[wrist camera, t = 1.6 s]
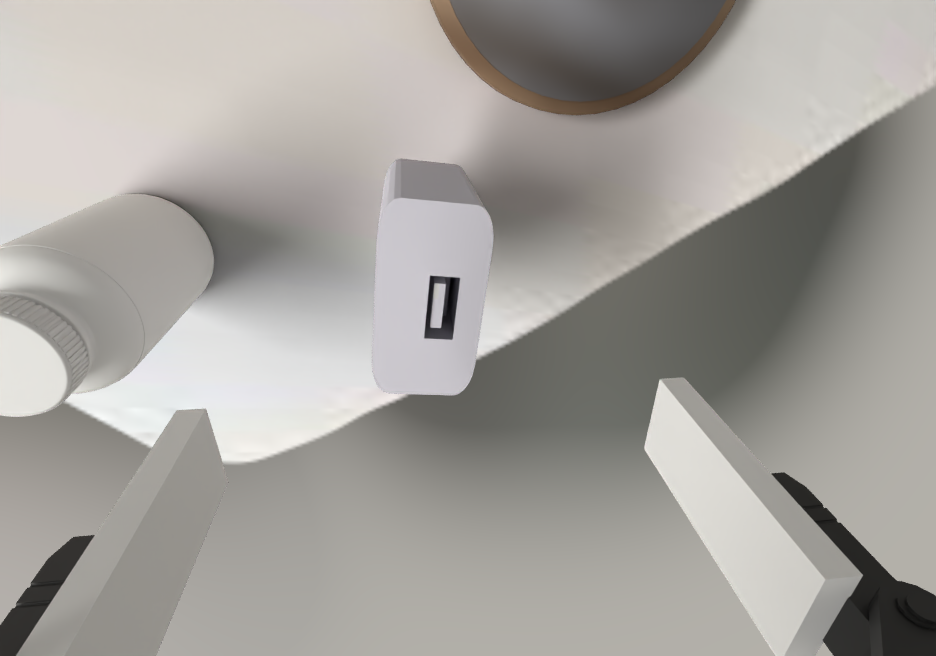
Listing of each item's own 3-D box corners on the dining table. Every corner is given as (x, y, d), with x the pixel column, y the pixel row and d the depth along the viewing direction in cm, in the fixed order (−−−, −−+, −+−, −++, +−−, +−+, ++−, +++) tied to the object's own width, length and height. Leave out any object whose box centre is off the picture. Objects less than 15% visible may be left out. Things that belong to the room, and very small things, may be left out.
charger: (459, 148, 33) (499, 207, 19) (445, 277, 37) (470, 396, 24) (387, 140, 32) (378, 196, 19) (381, 272, 36) (370, 393, 23)
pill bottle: (212, 197, 32) (82, 290, 19) (221, 306, 36) (118, 448, 23) (76, 181, 31) (-165, 270, 18) (100, 297, 34) (-84, 441, 21)
